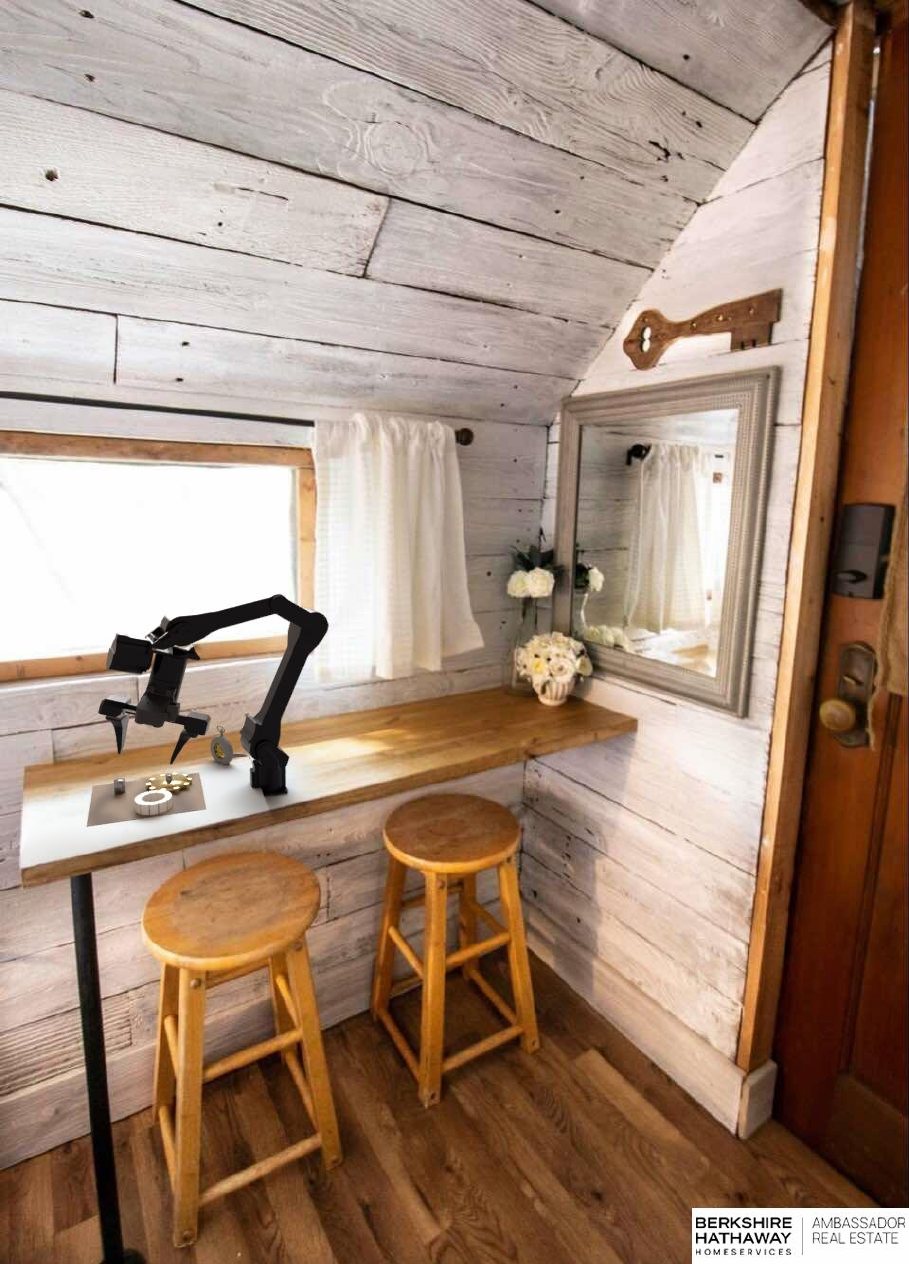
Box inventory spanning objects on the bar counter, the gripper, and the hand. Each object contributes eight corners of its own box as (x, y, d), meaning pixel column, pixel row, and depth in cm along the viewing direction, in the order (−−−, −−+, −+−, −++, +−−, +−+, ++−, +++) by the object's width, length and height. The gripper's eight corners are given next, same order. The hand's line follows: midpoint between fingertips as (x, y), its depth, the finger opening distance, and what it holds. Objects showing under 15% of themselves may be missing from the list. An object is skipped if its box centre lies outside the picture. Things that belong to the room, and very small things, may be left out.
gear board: (199, 779, 145) (199, 772, 145) (206, 816, 129) (206, 808, 129) (93, 792, 137) (93, 785, 137) (87, 834, 121) (86, 826, 121)
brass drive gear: (190, 775, 143) (190, 764, 143) (193, 791, 136) (192, 780, 136) (146, 780, 140) (145, 770, 139) (146, 797, 132) (145, 786, 132)
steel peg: (125, 789, 136) (125, 777, 135) (125, 793, 134) (124, 781, 133) (114, 791, 135) (113, 778, 134) (114, 795, 133) (113, 782, 132)
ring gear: (171, 797, 133) (171, 788, 132) (173, 811, 127) (172, 801, 127) (135, 802, 130) (134, 792, 130) (135, 817, 125) (134, 807, 124)
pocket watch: (253, 758, 158) (252, 716, 156) (243, 772, 149) (242, 729, 147) (217, 757, 157) (216, 715, 155) (205, 771, 149) (204, 728, 147)
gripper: (99, 673, 116) (77, 761, 117) (211, 698, 120) (189, 782, 121) (117, 664, 127) (97, 743, 128) (219, 687, 131) (199, 764, 132)
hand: (145, 758), depth 127 cm, fingers open, 9 cm apart
